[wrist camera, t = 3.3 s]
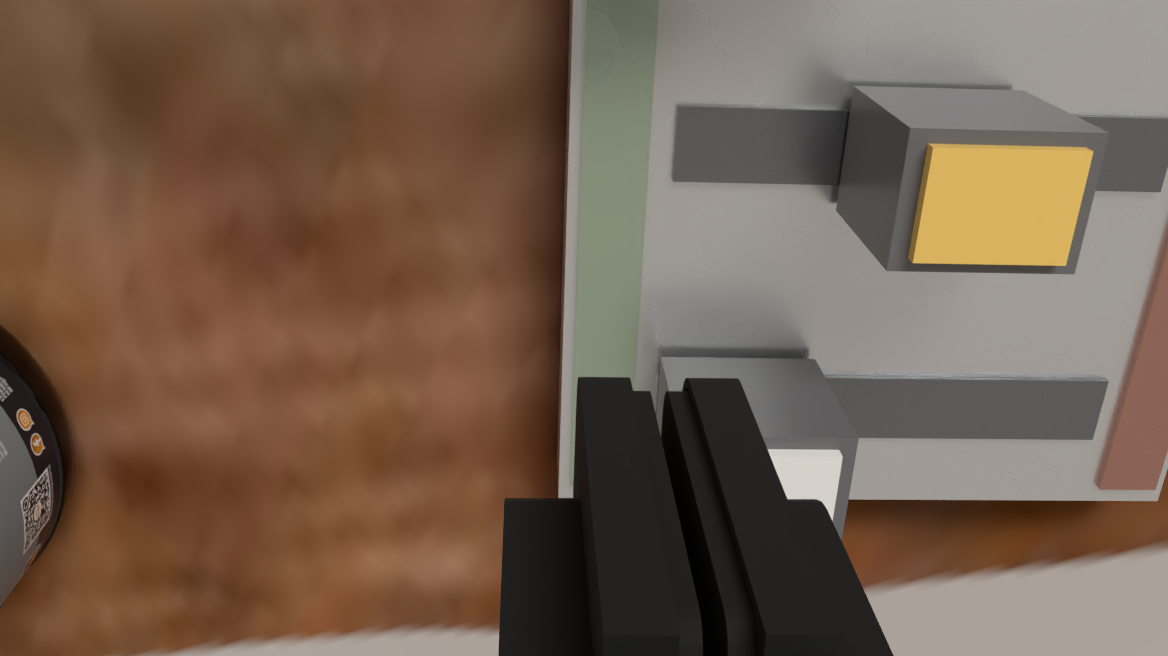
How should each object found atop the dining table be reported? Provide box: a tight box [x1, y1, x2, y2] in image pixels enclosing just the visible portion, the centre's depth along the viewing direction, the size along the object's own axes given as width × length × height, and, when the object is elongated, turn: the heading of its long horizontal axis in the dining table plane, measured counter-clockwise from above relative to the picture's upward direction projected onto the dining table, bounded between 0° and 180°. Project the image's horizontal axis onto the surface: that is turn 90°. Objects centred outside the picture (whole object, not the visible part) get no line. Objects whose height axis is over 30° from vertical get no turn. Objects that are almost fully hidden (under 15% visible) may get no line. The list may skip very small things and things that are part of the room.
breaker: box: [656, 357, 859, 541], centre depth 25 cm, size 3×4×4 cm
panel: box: [557, 0, 1168, 501], centre depth 26 cm, size 20×17×2 cm
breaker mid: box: [836, 86, 1109, 274], centre depth 23 cm, size 3×4×4 cm
